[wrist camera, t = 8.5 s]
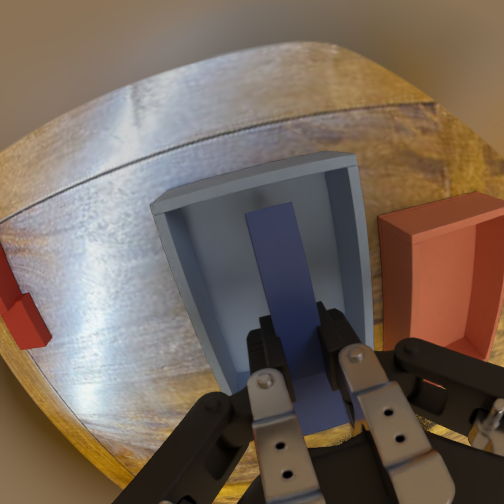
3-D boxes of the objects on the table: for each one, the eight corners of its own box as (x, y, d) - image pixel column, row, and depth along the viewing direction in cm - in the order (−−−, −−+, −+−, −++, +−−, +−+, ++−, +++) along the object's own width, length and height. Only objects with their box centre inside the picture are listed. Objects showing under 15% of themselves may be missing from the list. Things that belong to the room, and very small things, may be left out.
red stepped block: (-25, 227, 17) (-44, 237, 15) (-2, 214, 17) (-22, 223, 15) (27, 341, 21) (14, 358, 19) (52, 337, 21) (39, 355, 19)
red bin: (377, 215, 20) (411, 235, 15) (476, 191, 20) (514, 203, 15) (382, 373, 25) (401, 405, 21) (464, 336, 25) (488, 360, 21)
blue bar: (225, 221, 14) (220, 219, 11) (302, 201, 14) (314, 195, 11) (281, 426, 15) (287, 455, 12) (345, 408, 15) (359, 434, 12)
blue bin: (166, 190, 18) (148, 204, 14) (327, 150, 18) (355, 153, 14) (231, 375, 23) (233, 417, 19) (353, 343, 23) (373, 379, 19)
